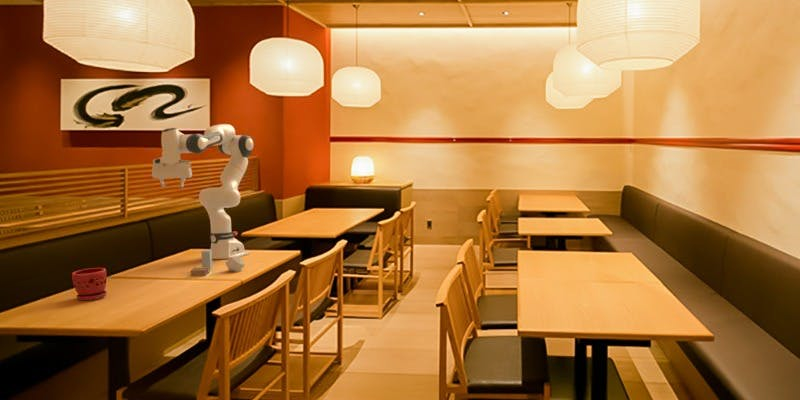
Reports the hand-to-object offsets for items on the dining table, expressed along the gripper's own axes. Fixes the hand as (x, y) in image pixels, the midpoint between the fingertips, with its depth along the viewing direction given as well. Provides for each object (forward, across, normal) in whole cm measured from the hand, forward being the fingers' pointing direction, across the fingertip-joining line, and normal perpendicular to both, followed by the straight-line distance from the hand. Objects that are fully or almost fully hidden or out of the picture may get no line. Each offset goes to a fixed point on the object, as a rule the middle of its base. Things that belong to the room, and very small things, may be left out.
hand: (172, 187), depth 341 cm
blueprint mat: (+42, -22, +18) cm, 50 cm away
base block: (+42, -21, +18) cm, 50 cm away
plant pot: (+43, +7, +65) cm, 78 cm away
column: (+42, -19, +5) cm, 46 cm away
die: (+42, -35, +8) cm, 55 cm away
